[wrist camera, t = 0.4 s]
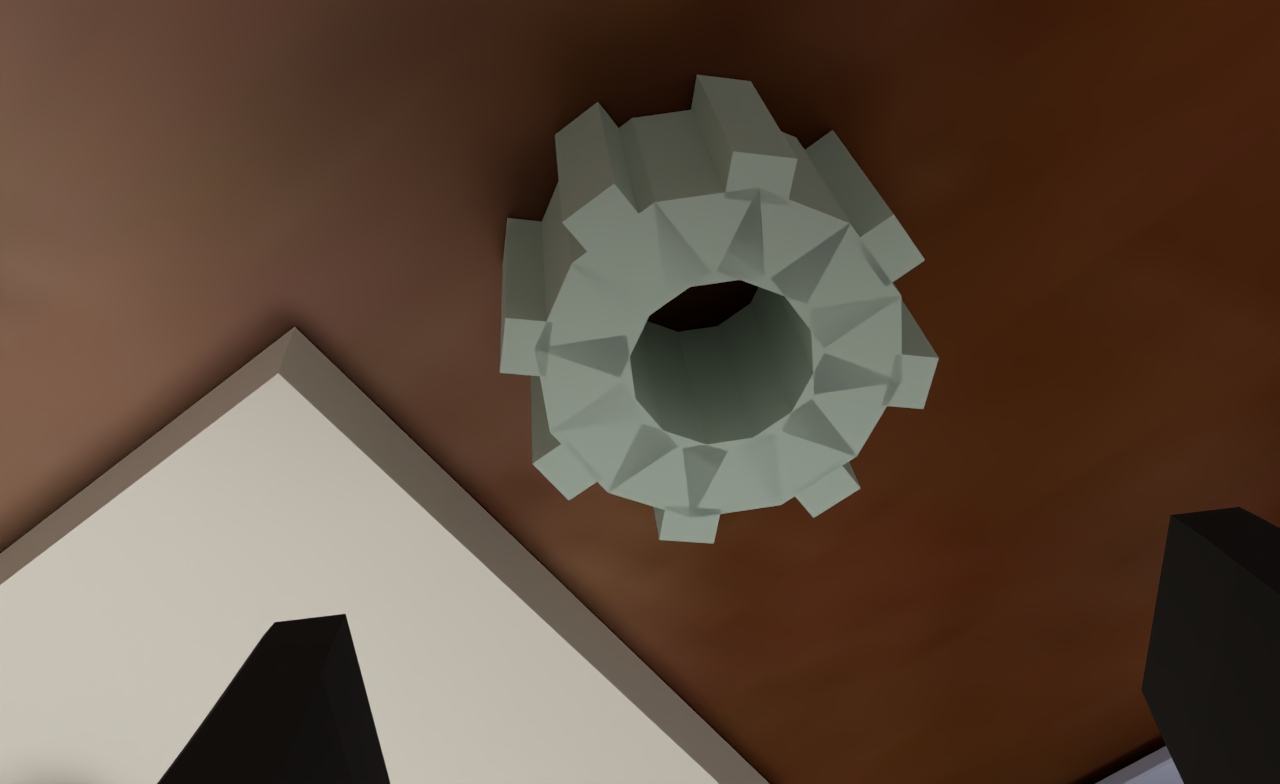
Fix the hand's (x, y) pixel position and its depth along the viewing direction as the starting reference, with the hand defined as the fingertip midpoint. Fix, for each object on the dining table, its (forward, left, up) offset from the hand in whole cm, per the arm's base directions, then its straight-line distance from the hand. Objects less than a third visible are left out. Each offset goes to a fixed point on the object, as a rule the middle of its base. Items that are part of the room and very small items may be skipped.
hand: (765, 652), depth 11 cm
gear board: (-5, +14, -9) cm, 17 cm away
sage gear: (-1, 0, -9) cm, 9 cm away
